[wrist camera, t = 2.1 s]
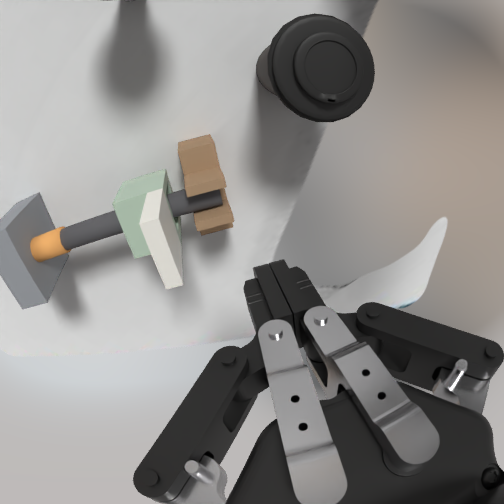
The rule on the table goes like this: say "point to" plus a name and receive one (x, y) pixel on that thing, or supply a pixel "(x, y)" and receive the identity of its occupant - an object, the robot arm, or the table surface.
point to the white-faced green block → (152, 224)
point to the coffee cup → (318, 68)
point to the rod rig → (101, 225)
